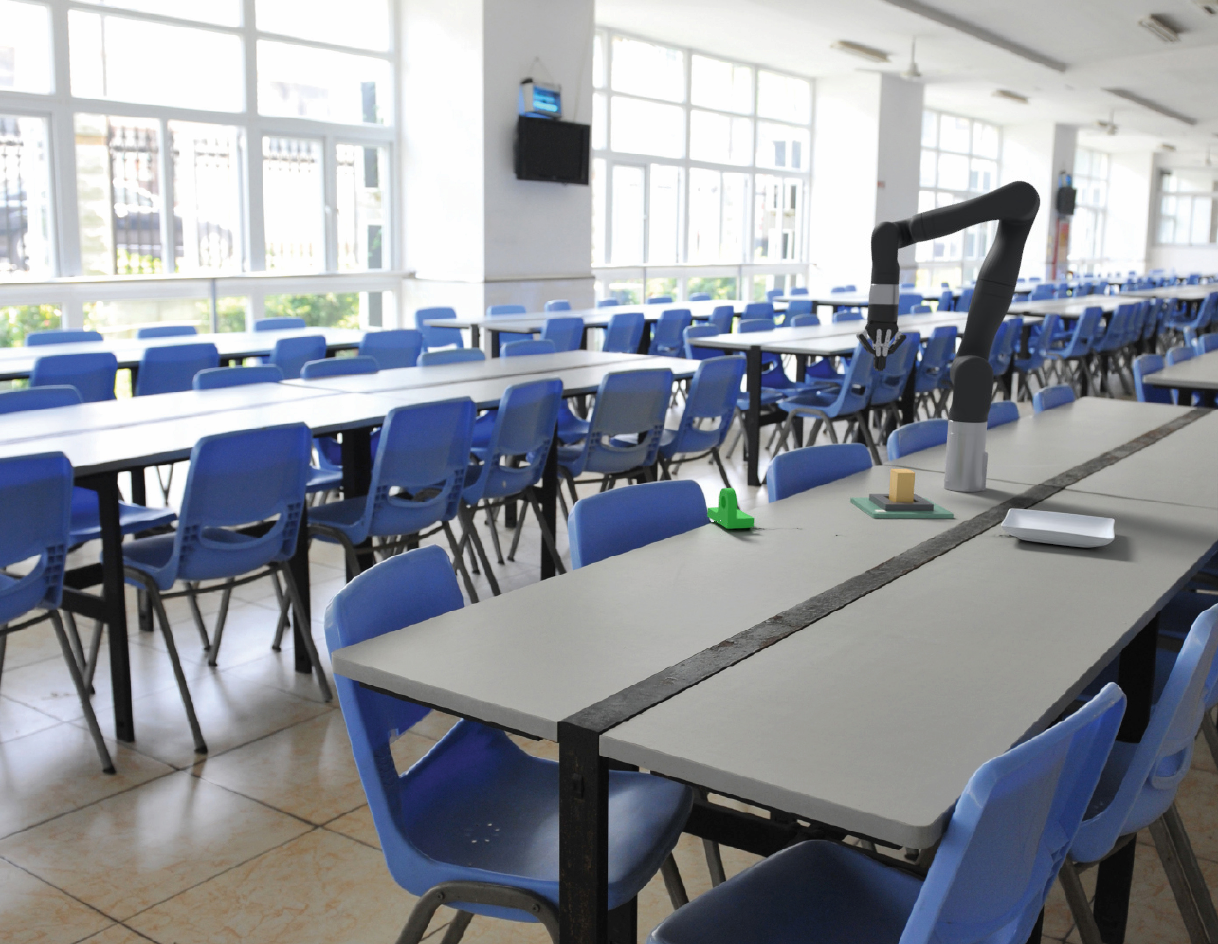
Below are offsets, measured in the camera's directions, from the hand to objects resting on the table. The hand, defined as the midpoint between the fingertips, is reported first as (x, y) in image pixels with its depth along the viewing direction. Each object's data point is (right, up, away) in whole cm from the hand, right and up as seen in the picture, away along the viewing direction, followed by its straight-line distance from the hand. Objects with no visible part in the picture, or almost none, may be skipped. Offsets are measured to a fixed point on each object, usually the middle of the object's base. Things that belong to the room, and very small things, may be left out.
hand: (878, 370), depth 288 cm
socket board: (-3, -35, -33) cm, 48 cm away
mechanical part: (-43, -37, -48) cm, 74 cm away
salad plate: (+24, -40, -55) cm, 72 cm away
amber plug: (-3, -34, -33) cm, 47 cm away
